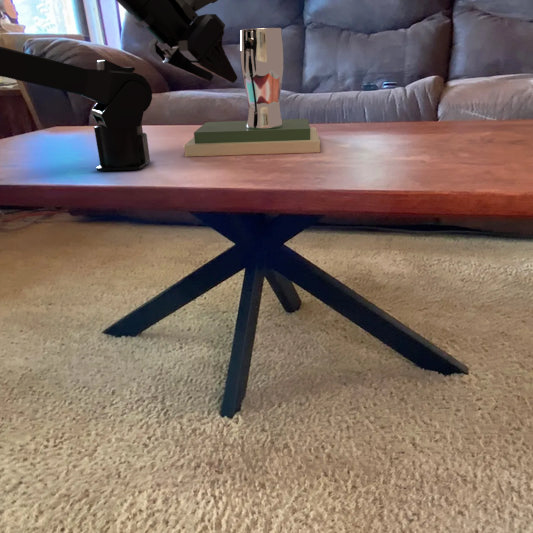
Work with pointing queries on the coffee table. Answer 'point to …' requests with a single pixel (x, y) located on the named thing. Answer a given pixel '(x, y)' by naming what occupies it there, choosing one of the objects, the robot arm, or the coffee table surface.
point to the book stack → (253, 139)
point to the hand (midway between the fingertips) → (222, 79)
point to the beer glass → (262, 75)
